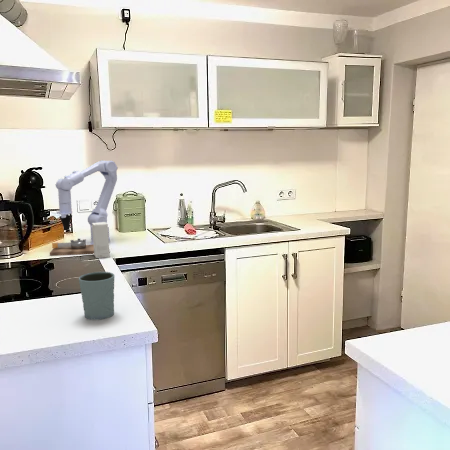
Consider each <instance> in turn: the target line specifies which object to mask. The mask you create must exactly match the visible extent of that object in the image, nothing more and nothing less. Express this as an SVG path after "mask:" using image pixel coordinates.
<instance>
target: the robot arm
mask: <svg viewBox="0 0 450 450" xmlns="http://www.w3.org/2000/svg"><path fill="white" fill-rule="evenodd" d="M118 168H119V167H118V166H117V164H116V162H115V161H113V160H103V159H102V160H99V161H97V162H95V163H93V164H92V165H90V166H88V167H86V168H85V169H82V170H81V171H79V170H73V171H72V172H71V173H70V174H69V175H65V176H63V177H64V178H62V177H61V178H58V180H57V181H56V184H55V188H56V189H57V192H58V193H57V194H58V195H57V196H58V208H59V211H57V212H56V214H59V215H60V216H58V217H59V220H60V221H61V223H62V227H63V230H64V231H69V230H70V225H71V220H72V218H73V215H72V214H73V211H72V195H71V193H72V191H71V190H72V189H73V187H74V186H75V187H76V185H79V184H80V183H82V182H83V181H84V180H85V178H86V177H88V176H91V175H92V174H95V173H97V172H100V174H101V175H102V176H103V177H104V179H105V180H104V184H103V186H102V190H101V191H100V195H99V198H98V200H97V204H96V206H95V208H94V209H92V211H91V213H90V214H89V215H88V216H87V222H88V224H89V226H90V240H91V241H90V243H89V245H94V244H93V231H92V223H98V222H106V223H107V224H108V215H109V214H108V212H107V209H108V207H109V203H110V201H111V197H112V195H113V193H114V190H115V187H116V183H117V182H118V181H117V180H118V175H117V170H118ZM109 227H110V226H108V237H109V243H110V242H111V241H110V240H111V237H110V228H109Z"/></svg>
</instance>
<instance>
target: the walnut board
mask: <svg viewBox="0 0 450 450" xmlns="http://www.w3.org/2000/svg"><path fill="white" fill-rule="evenodd" d="M93 253H94V245H90V244H86V248H83V249H71V247H65V248H51V251H50V252H49V256H51V257H52V256H53V257H57V256H75V255H77V256H78V255H79V256H80V255H94V254H93Z"/></svg>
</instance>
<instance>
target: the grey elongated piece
mask: <svg viewBox="0 0 450 450" xmlns="http://www.w3.org/2000/svg"><path fill="white" fill-rule="evenodd" d="M86 245H87V239H81V238H77V240H74V239H71V240H70V242H52V243H51V247H52V248H51V249H53V248H65V247H71V249H83V248H86Z"/></svg>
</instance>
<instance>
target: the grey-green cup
mask: <svg viewBox="0 0 450 450" xmlns="http://www.w3.org/2000/svg"><path fill="white" fill-rule="evenodd" d="M78 282H79V289H80V293H81V294H80V295H81V299H82V304H83V306H82V307H83V312H84V317H85V318H86V319H87V320H92V321H94V320H95V321H97V320H98V321H99V320H105V319H108V318H110V317H112V316H114V315H115V314H114V313H115V303H114V302H115V293H114V292H115V274H114V273H112V272H109V271H93V272H88V273H84V274H82V275H80V276H78Z"/></svg>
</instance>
